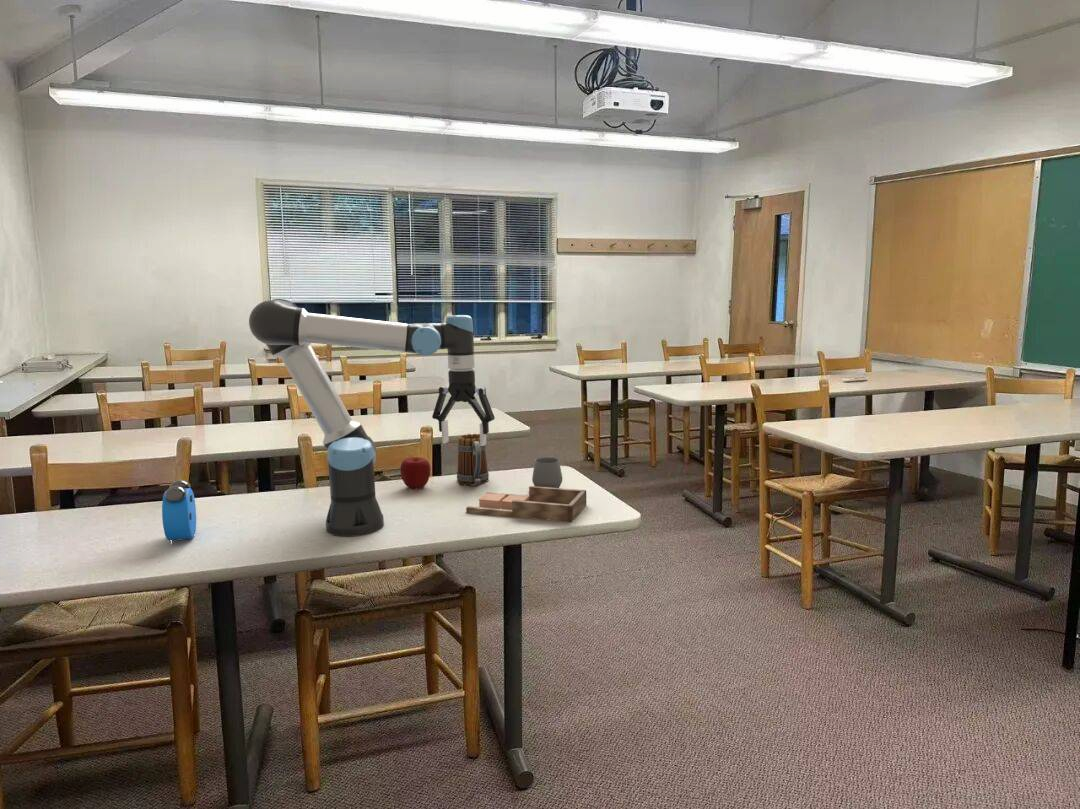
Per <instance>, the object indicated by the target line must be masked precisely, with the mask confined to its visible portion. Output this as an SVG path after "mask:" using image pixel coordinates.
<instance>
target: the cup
mask: <svg viewBox="0 0 1080 809" xmlns="http://www.w3.org/2000/svg"><path fill="white" fill-rule="evenodd" d="M560 462H561V461H560V459H559V458H556V457H552V456H551V457H550V456H548V457H538V458H536V459H534V464H533V471H532V479H531V480H532V484H533V485H534V486H538V487H551V488H561V485H562V483H563V473H562V469H561V463H560Z"/></svg>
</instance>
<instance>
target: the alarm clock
mask: <svg viewBox="0 0 1080 809" xmlns="http://www.w3.org/2000/svg"><path fill="white" fill-rule="evenodd" d="M161 504H162V506H161V516H162V518H161V519H162V520H161V521H162V527H163V532H164V536H165V538H166V540H167V541H168V540H169V541H168V542H171V541H170V540H176V541H181V540H180V539H184V540H190V539H189V538H192V539H194V538H195V536H194V534H195V535H196V533H195V532H197V507H196V499H195V495H194V492H193V490H192V488H191V484H190V482H188V481H186V480H184V479H178V480H175V481H173V482H172V483H171V484H170V485H169V488H168V489H167V490H165V492H164V493H163V497H162V503H161ZM193 537H194V538H193Z"/></svg>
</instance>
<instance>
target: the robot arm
mask: <svg viewBox="0 0 1080 809" xmlns="http://www.w3.org/2000/svg"><path fill="white" fill-rule="evenodd" d="M473 324H474V322H473V318H472V317H471V315H467V314H457V315H456V314H454V315H451V314H450V315H448V316H446V317H445V322H440V323H438V322H429V323H426V322H425V323H422V322H421V323H417V322H416V323H415V322H414V323H403V322H395V321H393V322H392V321H387V320H386V321H385V320H376V319H366V318H357V317H351V316H350V317H348V316H341V315H331V314H324V313H323V314H322V313H312V312H308V311H307V310H306V308H304V307H298V306H297V305H296V304H295V303H294V302H292V301H290V300H287V299H283V298H275V299H274V298H273V299H270V300H266V301H265V300H264V301H262V302H260V303H258V304H257V305H256V306H254V307H253V308H252V310H251V312H250V314H249V318H248V326H249V329H250V332H251V334H252V335H253V336H254V337H255V338H256V340H258V341H259V342H261V343H263V344H265V345H266V347H267V349H268V350H269V351H270V353H271V355H272V357H273V358H274V357H275V358H278V359H280V360H281V361H282V363H283V364H284V366H285V368H286V369H287V371H288V374H290V377H291V378H292V380H293V382H294V384H295V386H296V387H297V389H298V390H299V392H300V394H301V396H302V398H303V399H304V401H305V403H306V404H307V407H308V408H309V410H310V412H311V413H312V415H313V417H314V419H315V420H316V423H317V424H318V426H319V428H320V429H321V431H322V432H323V435H324V438H323V440H322V444H323V445H324V447H325V449H326V451H327V453H326V460H327V462H328V463H327V464H328V477H329V478H328V479H329V491H330V492H329V493H330V504H329V508H328V510H327V516H326V520H325V530H326V532H327V533H328V534H329V533H330V535H332V534H333V535H332V536H336V535H337V536H338V537H356V536H357V537H359V536H364V535H367V534H372V533H375V532H377V531H378V530H380V529H382V528H383V527H384V524H385V521H384V514H383V512H382V510H381V507H380V505H379V502H378V500H377V496H376V479H375V465H376V460H377V447H376V444H375V442H374V441H373V439H372V438H371V437H370V436H369V435H368V434H367V432H366V431H365V429H364V428H363V426H362V424H361V422H358V421H355V420H353V418H352V417H351V415H350V413H349V412H348V409H347V408H346V406H345V404H344V403H343V401H342V399H341V397H340V395H339V394H338V392H337V390H336V388H335V387H334V385H333V383H332V381H331V379H330V377H329V375H328V373H327V372H326V370H325V369H324V367H323V366H324V365H323V364H322V363H321V362H320V359H319V358H318V355H317V354H316V353H315V350H314V349H313V347H312V344H318V345H319V344H320V345H329V346H339V347H350V348H351V347H352V348H358V349H359V348H361V349H370V350H372V349H373V350H380V351H381V350H382V351H390V352H391V351H392V352H402V353H410V354H417V355H420V356H428V357H429V356H432V355H434V354H435V353H436V352H438V350H446V351H447V369H449V371H448V373H447V374H448V375H447V376H448V384H449V385H448V386H445V385H443V386H439V388H438V396H437V399H436V403H435V407H434V409H433V413H432V417H431V418H432V419H434V420H437V421H438V431H439V432H441V442H442V444H444V445H445V444H447V443H449V441H450V440H449V439H450V438H449V421H448V419H447V417H448V416H449V413H450V411H451V410H452V409H453V406H454V405H455V404H456V403H457V402H458V403H459V402H460V403H461V402H462V403H467V404H468V405H470V406H471V408H472V409H473V411H474V412H475V414H476V416H477V417H478V418H479V420H480V421H481V422H480V423H479V434H480V446H484V445H485V444H486V445H487V434H489V432H490V431H489V430H490V426H489V424H490V422H492V421H494V420H495V419H496V417H495V415H494V412H493V409H492V407H491V405H490V402H489V400H488V397H487V391H486V390H487V388H486V387H477V386H476V374H475V372H476V371H475V369H474V368H475V345H474V343H475V341H474V340H475V339H474V325H473ZM447 394H450V397H449V398H448V400H447V403H446V404H445V400H446V396H447ZM475 394H477V396H478V398H479V401H480V404H479V402H478V399H477V398H476V396H475ZM444 404H445V406H444ZM443 406H444V407H443ZM481 406H482V407H481Z"/></svg>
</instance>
